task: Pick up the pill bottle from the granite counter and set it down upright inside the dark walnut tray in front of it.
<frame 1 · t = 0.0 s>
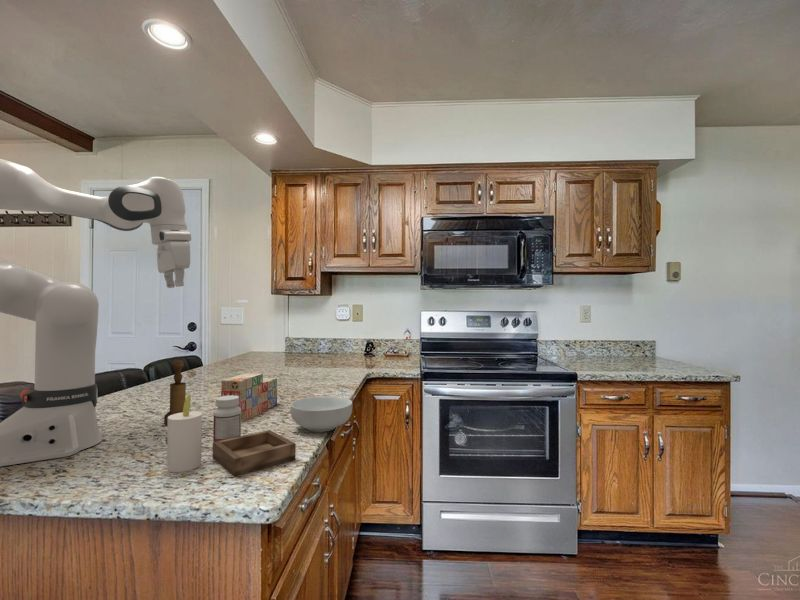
hand: (175, 287, 111), 39 cm above the counter, tool pointing down, fingers open, 8 cm apart
brown knobbed cylinder: (177, 422, 114), on the counter
pill bottle: (227, 445, 96), on the counter
tray: (253, 459, 86), on the counter
stack of blocks: (251, 413, 125), on the counter
candle: (183, 467, 83), on the counter
cereal bowl: (322, 428, 109), on the counter
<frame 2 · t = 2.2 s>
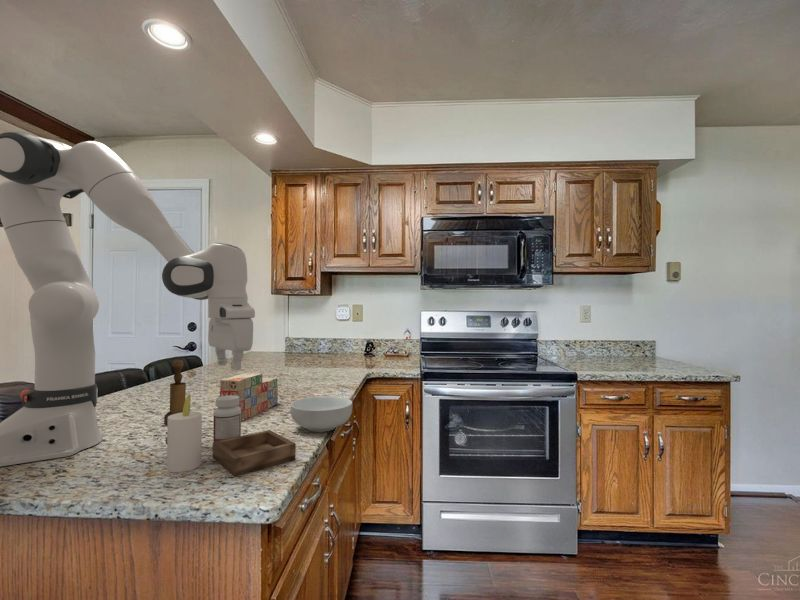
hand: (228, 367, 96), 19 cm above the counter, tool pointing down, fingers open, 8 cm apart
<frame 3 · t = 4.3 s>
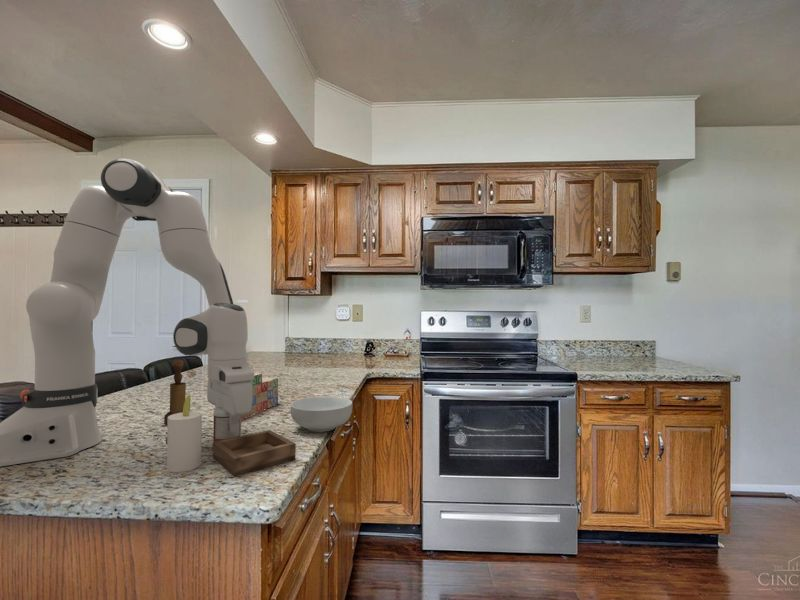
hand: (227, 427, 96), 4 cm above the counter, tool pointing down, fingers closed on pill bottle, 6 cm apart
pill bottle: (227, 445, 96), on the counter, touching gripper
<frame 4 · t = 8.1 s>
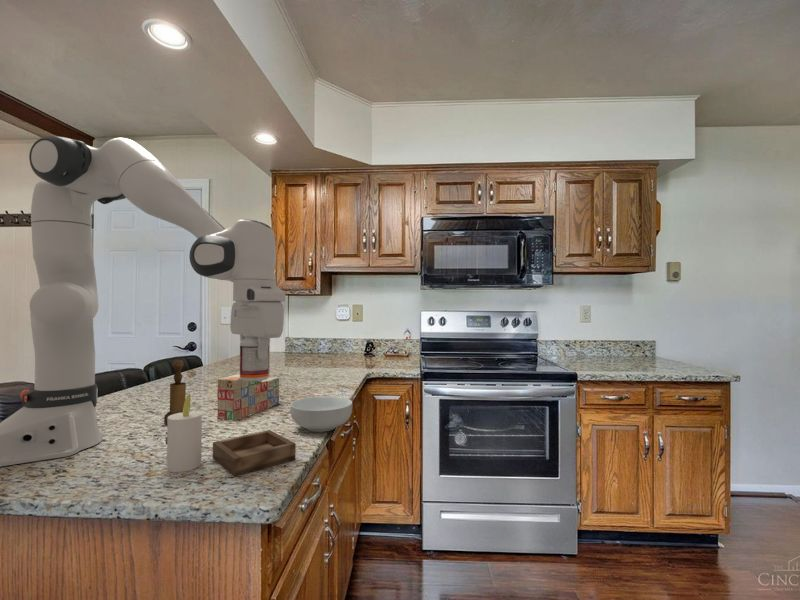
hand: (254, 356, 87), 22 cm above the counter, tool pointing down, fingers closed on pill bottle, 6 cm apart
pill bottle: (254, 380, 87), point 17 cm above the counter, touching gripper
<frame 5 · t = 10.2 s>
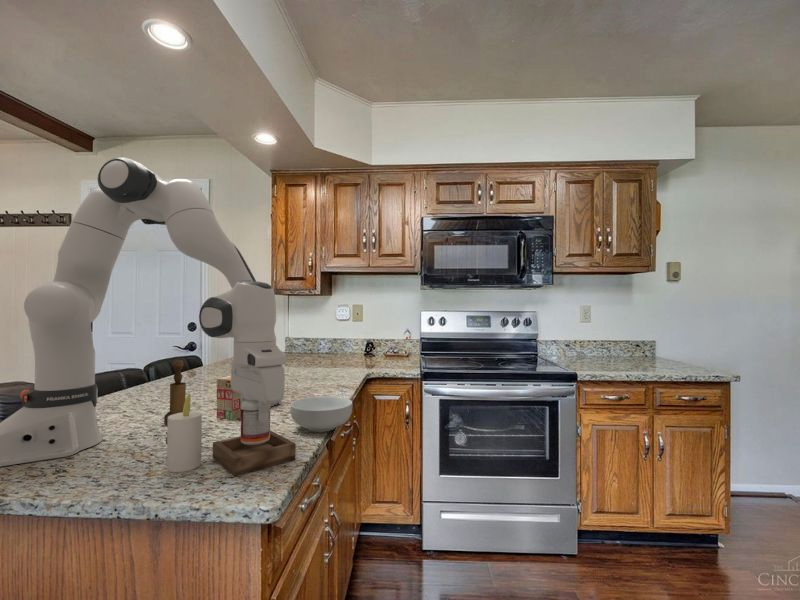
hand: (254, 417, 87), 9 cm above the counter, tool pointing down, fingers closed on pill bottle, 6 cm apart
pill bottle: (255, 441, 87), point 4 cm above the counter, touching gripper
when the fingers open (7 cm above the counter, at t = 11.8 s): pill bottle stays where it is, resting on tray.
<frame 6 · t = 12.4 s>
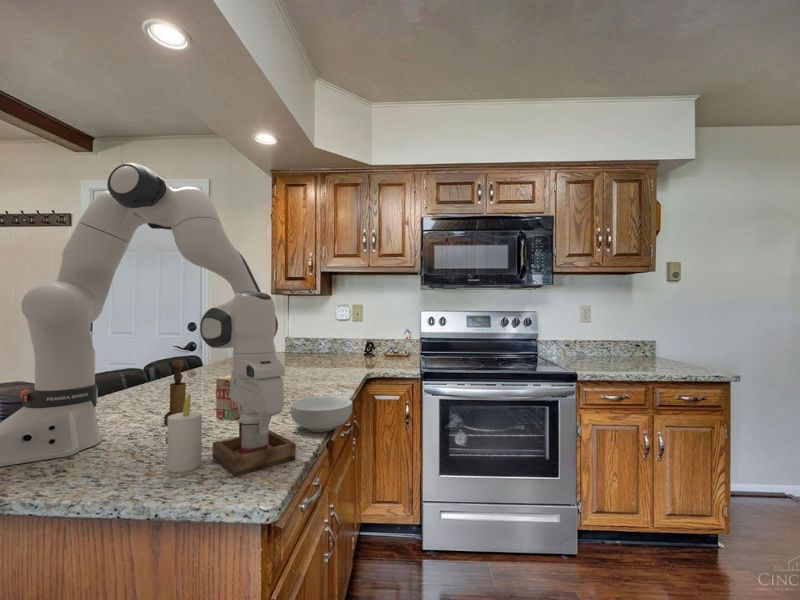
hand: (253, 428, 87), 7 cm above the counter, tool pointing down, fingers open, 8 cm apart
pill bottle: (253, 455, 87), point 1 cm above the counter, touching tray
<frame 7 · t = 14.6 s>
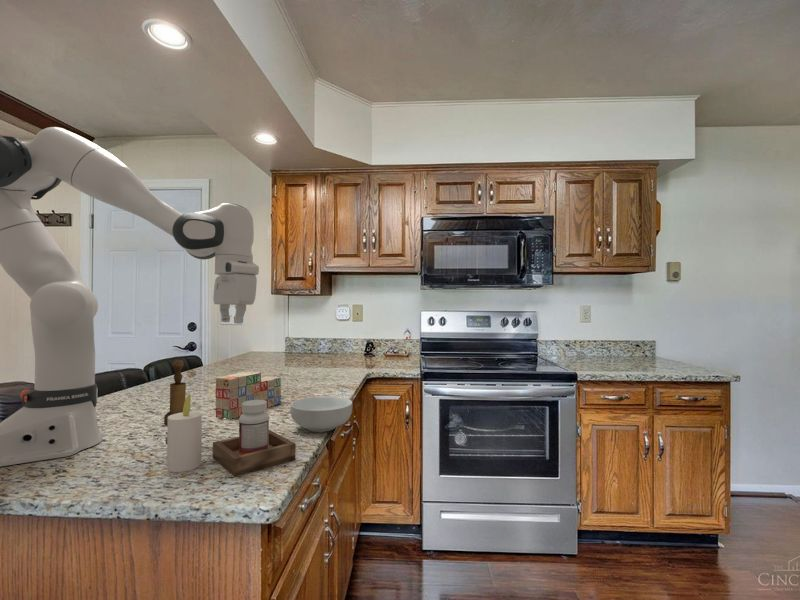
hand: (231, 322, 100), 29 cm above the counter, tool pointing down, fingers open, 8 cm apart
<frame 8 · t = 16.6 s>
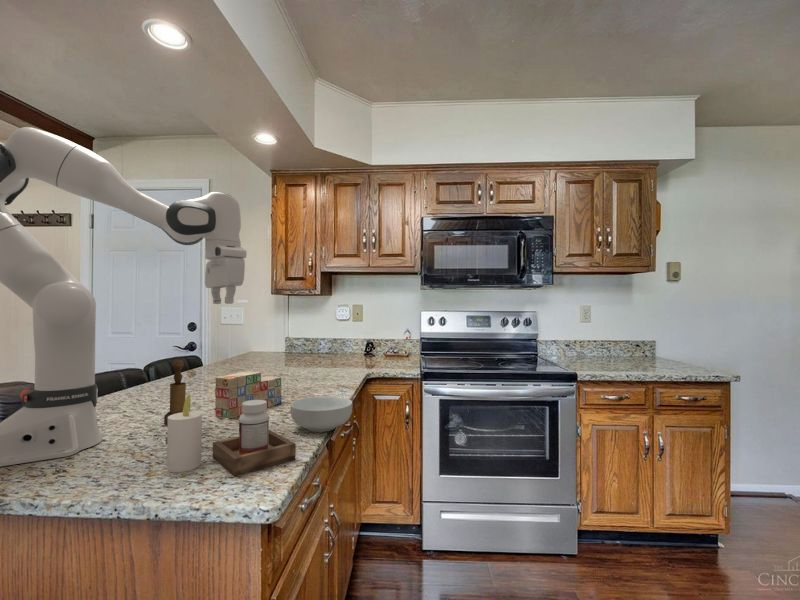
hand: (222, 303, 108), 34 cm above the counter, tool pointing down, fingers open, 8 cm apart
at the end: pill bottle inside the target area on the tray (0.1 cm from its centre), point 0.8 cm above the tray's base; pill bottle tilted 0° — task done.
